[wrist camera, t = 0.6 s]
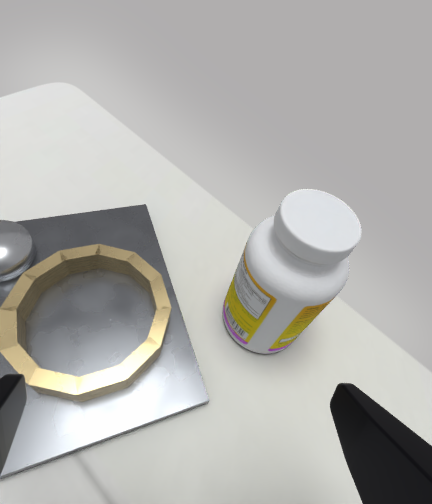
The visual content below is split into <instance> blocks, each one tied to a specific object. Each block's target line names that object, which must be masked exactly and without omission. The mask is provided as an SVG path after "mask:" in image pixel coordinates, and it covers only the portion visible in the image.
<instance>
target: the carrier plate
mask: <svg viewBox="0 0 432 504" xmlns="http://www.w3.org/2000/svg"><path fill="white" fill-rule="evenodd" d="M6 374H23V375H24V376H25V383H26V394H27V400H26V405H25V408H24V411H23V414H22V417H21V420H20V422H19V425H18V428H17V431H16V434H15V437H14V440H13V443H12V446H11V448H10V451H9V454H8V457H7V460H6V463H5V465H4V468H3V470H2V473H1V475H0V479H2V478H5V477H8V476H10V475H13V474H16V473H19V472H21V471H24V470H27V469H29V468H32V467H35V466H38V465H40V464H43V463H46V462H48V461H51V460H54V459H57V458H59V457H62V456H65V455H68V454H70V453H73V452H76V451H78V450H81V449H84V448H87V447H89V446H92V445H95V444H98V443H100V442H103V441H106V440H108V439H111V438H114V437H117V436H119V435H122V434H125V433H127V432H130V431H133V430H136V429H138V428H141V427H144V426H147V425H149V424H152V423H155V422H157V421H160V420H163V419H166V418H168V417H171V416H174V415H177V414H179V413H182V412H185V411H187V410H190V409H193V408H196V407H198V406H201V405H204V404H206V403H208V402H209V397H208V394H207V391H206V388H205V385H204V382H203V378H202V375H201V372H200V369H199V366H198V363H197V360H196V357H195V354H194V351H193V348H192V345H191V342H190V338H189V335H188V332H187V329H186V326H185V323H184V320H183V317H182V314H181V311H180V308H179V305H178V302H177V299H176V295H175V292H174V289H173V286H172V283H171V280H170V277H169V274H168V271H167V268H166V265H165V262H164V259H163V255H162V252H161V249H160V246H159V243H158V240H157V237H156V234H155V231H154V228H153V225H152V222H151V219H150V216H149V212H148V209H147V206H146V204H144V205H137V206H130V207H122V208H115V209H107V210H100V211H93V212H85V213H78V214H70V215H63V216H55V217H48V218H41V219H33V220H26V221H18V222H12V221H6V220H0V378H1V377H2V376H4V375H6Z"/></svg>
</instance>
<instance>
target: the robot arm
mask: <svg viewBox="0 0 432 504" xmlns="http://www.w3.org/2000/svg"><path fill="white" fill-rule="evenodd" d="M26 400H27V394H26V383H25V376H24V375H23V374H6V375H4V376H2V377H1V378H0V475H1V473H2V470H3V468H4V465H5V463H6V460H7V457H8V454H9V451H10V448H11V446H12V443H13V440H14V437H15V434H16V431H17V428H18V425H19V422H20V420H21V417H22V414H23V411H24V408H25V405H26ZM330 409H331V413H332V416H333V420H334V423H335V427H336V430H337V433H338V437H339V440H340V443H341V447H342V450H343V453H344V456H345V459H346V462H347V465H348V467H349V470H350V473H351V475H352V478H353V480H354V483H355V485H356V488H357V490H358V493H359V495H360V498H361V500H362V503H363V504H432V446H431V445H430V444H428V443H427V442H426V441H425V440H423V439H422V438H421V437H420V436H418V435H417V434H416V433H414V432H413V431H412V430H411V429H409V428H408V427H407V426H406V425H404V424H403V423H402V422H401V421H399V420H398V419H397V418H395V417H394V416H393V415H392V414H390V413H389V412H388V411H387V410H385V409H384V408H383V407H381V406H380V405H379V404H378V403H376V402H375V401H374V400H373V399H371V398H370V397H369V396H367V395H366V394H365V393H364V392H362V391H361V390H360V389H359V388H357V387H356V386H355V385H353V384H350V383H340V384H338V385H337V387H336V390H335V392H334V394H333V397H332V399H331V401H330Z"/></svg>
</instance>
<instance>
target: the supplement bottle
mask: <svg viewBox="0 0 432 504" xmlns="http://www.w3.org/2000/svg"><path fill="white" fill-rule="evenodd" d="M361 232H362V230H361V225H360V222H359V220H358V218H357V216H356V214H355V213H354V212H353V210H352V209H351V208H350V207H349V206H348V205H347V204H345V203H344V202H343V201H341V200H340V199H338V198H337V197H335V196H333V195H331V194H329V193H326V192H323V191H319V190H314V189H300V190H296V191H293V192H291V193H289V194H288V195H287V196H286V197H285V198H284V199H283V201H282V202H281V204H280V206H279V208H278V210H277V212H276V214H275V215H274V216H271V217H269V218H267V219H265V220H263V221H262V222H260V223H259V224H258V225H257V226H256V227H255V228H254V230H253V231H252V233H251V234H250V236H249V239H248V241H247V243H246V246H245V249H244V251H243V254H242V256H241V259H240V262H239V264H238V267H237V269H236V272H235V274H234V277H233V280H232V282H231V285H230V287H229V290H228V293H227V295H226V298H225V301H224V305H223V318H224V323H225V325H226V328H227V330H228V332H229V333H230V335H231V336H232V337H233V339H234V340H235V341H236V342H237V343H239V344H240V345H241V346H243V347H244V348H246V349H248V350H251V351H253V352H257V353H263V354H269V353H275V352H278V351H281V350H283V349H285V348H286V347H288V346H289V345H290V344H291V343H292V342H293V341H294V340H295V339H296V338H297V337H298V336H299V335H300V334H301V332H302V331H303V330H304V329H305V328H306V327H307V326H308V325H309V324H310V323H311V322H312V321H313V320H314V319H315V318H316V316H317V315H318V314H319V313H320V312H321V311H322V310H323V309H324V308H325V307H326V306H327V305H328V304H329V303H330V302H331V301H332V300H333V299H334V298H335V296H336V295H337V294H338V293H339V292H340V291H341V290H342V288H343V287H344V285H345V283H346V281H347V278H348V274H349V260H348V256H349V254H350V253H351V252H352V250H353V249H354V248H355V246H356V245H357V244H358V242H359V241H360V238H361Z"/></svg>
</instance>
